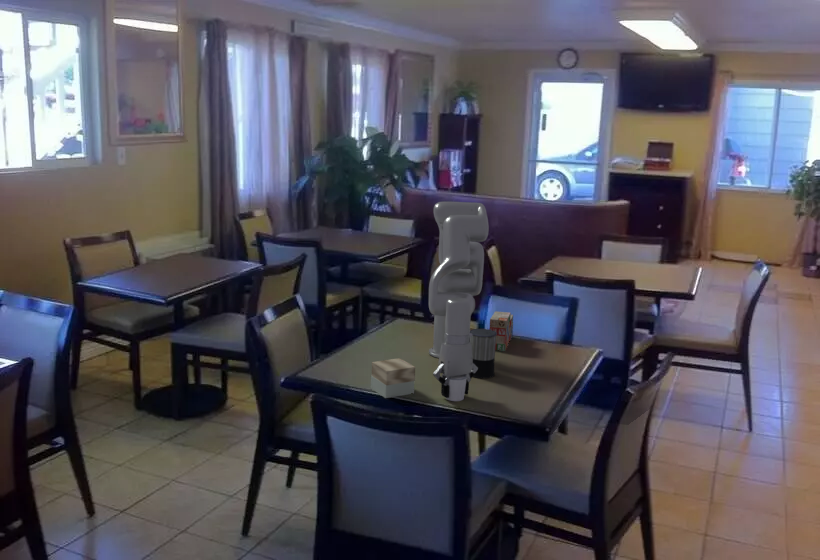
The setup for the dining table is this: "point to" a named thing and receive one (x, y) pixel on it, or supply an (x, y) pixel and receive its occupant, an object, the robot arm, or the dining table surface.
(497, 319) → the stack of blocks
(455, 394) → the white cylinder
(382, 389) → the tower bottom
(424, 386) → the dining table surface
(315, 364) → the dining table surface
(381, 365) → the tower top
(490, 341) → the milk frother
